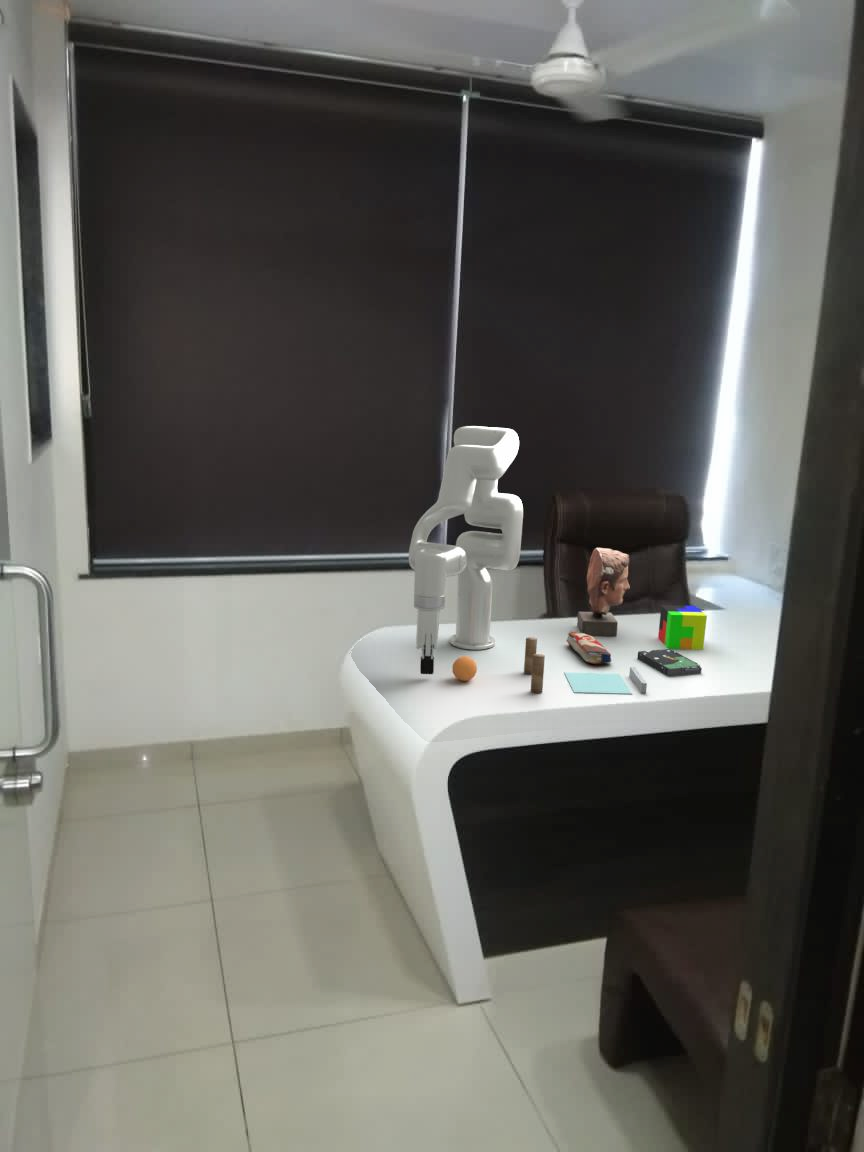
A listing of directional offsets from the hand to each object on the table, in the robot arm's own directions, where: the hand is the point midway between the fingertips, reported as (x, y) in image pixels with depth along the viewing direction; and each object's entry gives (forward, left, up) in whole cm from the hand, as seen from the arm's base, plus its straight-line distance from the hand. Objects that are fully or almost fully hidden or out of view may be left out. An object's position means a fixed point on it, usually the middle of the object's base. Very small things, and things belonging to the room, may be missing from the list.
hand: (426, 672), depth 220 cm
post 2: (+7, +26, -2) cm, 27 cm away
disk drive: (-15, +64, -2) cm, 66 cm away
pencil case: (-22, +44, -2) cm, 50 cm away
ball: (0, +9, +1) cm, 9 cm away
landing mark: (0, +42, -2) cm, 42 cm away
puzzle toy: (-35, +73, -2) cm, 81 cm away
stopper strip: (0, +52, -2) cm, 52 cm away
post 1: (-7, +26, -2) cm, 27 cm away
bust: (-45, +52, -2) cm, 69 cm away
